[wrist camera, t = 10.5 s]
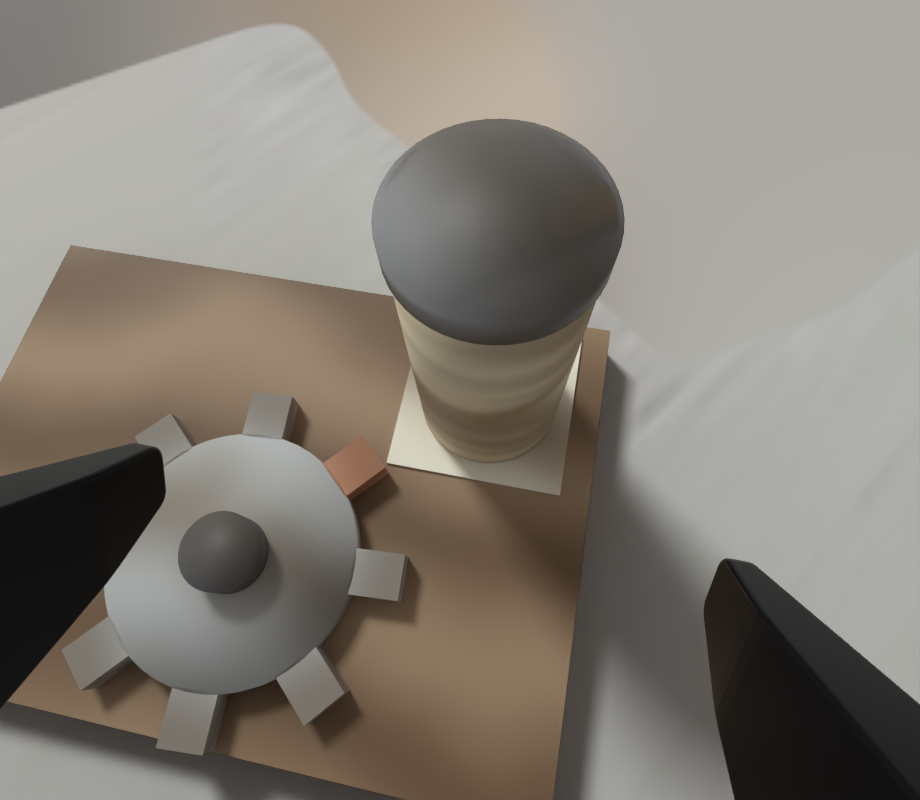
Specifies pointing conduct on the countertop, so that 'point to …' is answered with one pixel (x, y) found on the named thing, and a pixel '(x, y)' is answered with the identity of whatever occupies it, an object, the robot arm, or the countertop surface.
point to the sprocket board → (305, 535)
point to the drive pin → (495, 274)
